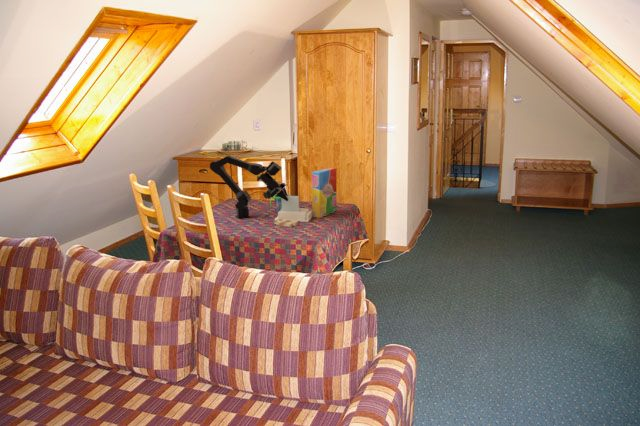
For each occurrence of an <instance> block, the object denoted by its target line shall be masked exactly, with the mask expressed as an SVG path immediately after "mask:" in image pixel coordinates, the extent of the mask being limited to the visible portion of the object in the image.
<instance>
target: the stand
mask: <svg viewBox="0 0 640 426" xmlns="http://www.w3.org/2000/svg"><path fill="white" fill-rule="evenodd" d="M273 222H274V225H275V224H276V226H281V227H282V226H283V227H286V228H287V227H288V228H293V226H294V227H296V226H298V225H299V223H298V221H291V220H285V219H279V221H278V220H276V221H275V220H274V221H273Z"/></svg>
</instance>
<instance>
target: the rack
mask: <svg viewBox="0 0 640 426" xmlns="http://www.w3.org/2000/svg"><path fill="white" fill-rule="evenodd" d="M279 219H285V220H291V221H300V222H304V223H305V222H306V223H307V222H309V221H311V220H312V219H313V217H312V209H311V210H310V209H309V208H303V207H301V208H300V207H299V211H282V209H281V211H279V212H277V216H276V217H275V218H274V221H276V220H278V221H279Z"/></svg>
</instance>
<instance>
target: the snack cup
mask: <svg viewBox="0 0 640 426" xmlns="http://www.w3.org/2000/svg"><path fill="white" fill-rule="evenodd" d="M287 195H288V196H292V195H291V194H287ZM275 196H276V195H275ZM275 196H274V197H273V198H272V197H271V198H270V199H269V204H270V208H272V205H273V204H272V202H273V199H274V201H275V202H274V203H275V208H276V212H277V213H278V212H279V211H281V209H282V202H281V197H275Z"/></svg>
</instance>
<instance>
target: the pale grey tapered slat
mask: <svg viewBox="0 0 640 426" xmlns="http://www.w3.org/2000/svg"><path fill="white" fill-rule="evenodd" d="M287 198H288V201H286V200H284V199H282V198H281V202H282V211H299V208H300V196H299V195H291V196H287Z"/></svg>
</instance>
